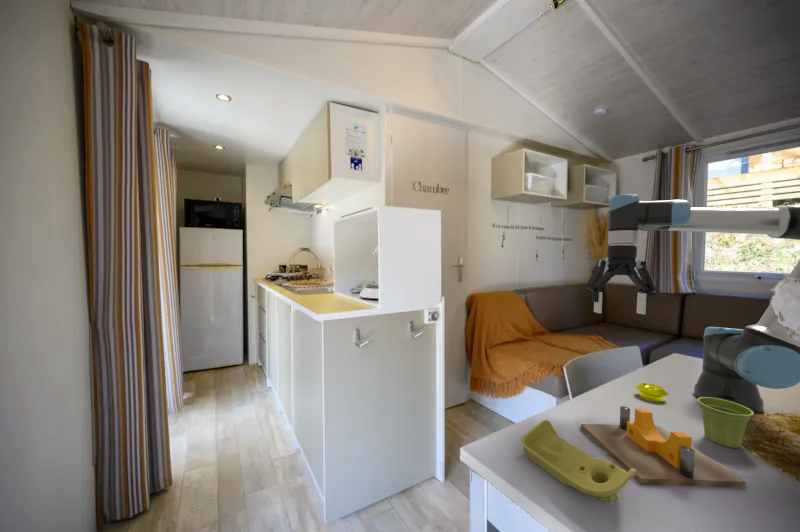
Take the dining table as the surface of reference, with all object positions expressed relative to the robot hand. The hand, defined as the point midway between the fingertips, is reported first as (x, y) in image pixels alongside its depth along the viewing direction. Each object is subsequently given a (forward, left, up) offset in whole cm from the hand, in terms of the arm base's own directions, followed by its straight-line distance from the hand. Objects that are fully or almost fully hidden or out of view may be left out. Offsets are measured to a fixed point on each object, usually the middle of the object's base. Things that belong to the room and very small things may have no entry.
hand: (619, 313), depth 98 cm
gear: (-12, -1, -27) cm, 30 cm away
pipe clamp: (+12, +30, -26) cm, 41 cm away
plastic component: (+34, +37, -27) cm, 57 cm away
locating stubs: (+12, +29, -25) cm, 40 cm away
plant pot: (-10, +23, -27) cm, 37 cm away
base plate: (+12, +29, -27) cm, 41 cm away
